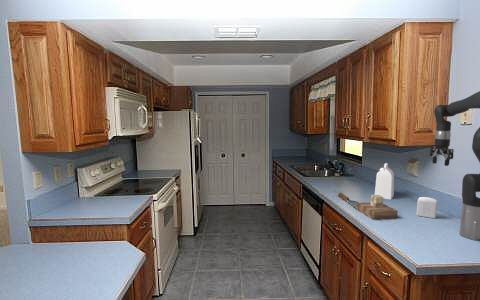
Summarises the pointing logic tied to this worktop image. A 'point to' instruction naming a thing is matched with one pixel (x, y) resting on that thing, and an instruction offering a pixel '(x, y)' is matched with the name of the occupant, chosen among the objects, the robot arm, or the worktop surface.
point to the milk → (385, 182)
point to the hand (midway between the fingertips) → (440, 164)
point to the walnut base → (377, 211)
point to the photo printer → (426, 207)
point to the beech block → (377, 201)
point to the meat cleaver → (348, 200)
